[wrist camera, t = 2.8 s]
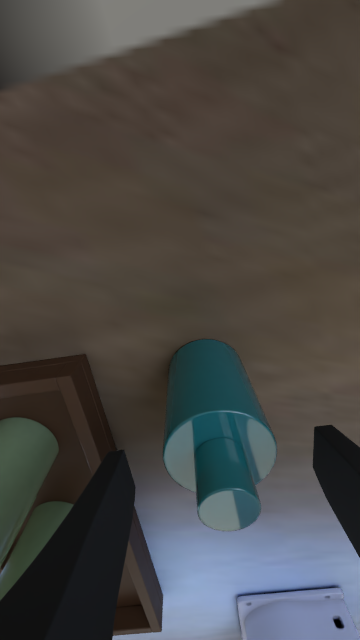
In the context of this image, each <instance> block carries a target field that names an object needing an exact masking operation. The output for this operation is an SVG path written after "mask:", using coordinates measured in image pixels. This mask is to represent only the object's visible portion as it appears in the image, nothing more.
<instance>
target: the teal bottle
mask: <svg viewBox="0 0 360 640" xmlns="http://www.w3.org/2000/svg"><path fill="white" fill-rule="evenodd" d="M276 456H277V444H276V440H275V437H274V435H273V432H272V430H271V428H270V426H269V423H268V421H267V419H266V417H265V414H264V412H263V410H262V407H261V405H260V403H259V401H258V398H257V396H256V394H255V391H254V389H253V387H252V385H251V382H250V380H249V378H248V376H247V373H246V371H245V369H244V366H243V364H242V362H241V360H240V358H239V356H238V354H237V353H236V352H235V351H234V349H232V348H231V347H230V346H229V345H227V344H225V343H223V342H220V341H217V340H212V339H202V340H196V341H193V342H190V343H188V344H186V345H185V346H183V347H182V348H181V349H179V350H178V351H177V352H176V353H175V355H174V356H173V358H172V360H171V362H170V365H169V372H168V386H167V400H166V414H165V429H164V443H163V461H164V465H165V468H166V470H167V472H168V473H169V475H170V476H171V477H172V479H173V480H174V481H175V482H177V483H178V484H179V485H180V486H182V487H184V488H185V489H188V490H190V491H192V492H195V493H196V499H197V513H198V516H199V518H200V520H201V521H202V522H203V523H204V524H205V525H206V526H208V527H210V528H212V529H215V530H219V531H236V530H240V529H243V528H245V527H247V526H249V525H251V524H252V523H253V522H255V521H256V519H257V518H258V517H259V515H260V512H261V503H260V500H259V496H258V493H257V489H256V486H255V485H256V484H258V483H259V482H260V481H262V480H263V479H264V478H265V477H266V476H267V475H268V473H269V472H270V471H271V469H272V467H273V466H274V463H275V460H276Z"/></svg>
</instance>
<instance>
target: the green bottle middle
mask: <svg viewBox="0 0 360 640" xmlns="http://www.w3.org/2000/svg"><path fill="white" fill-rule="evenodd" d="M73 505H74V504H71V503H67V502H62V501H51V502H46V503H43V504H40V505H39V506H37V507H36V508H35V509H34V510H33V511H32V513H31V515H30V517H29V519H28V521H27V523H26V525H25V527H24V529H23V530H22V532H21V534H20V536H19V538H18V540H17V542H16V544H15V546H14V548H13V550H12V552H11V554H10V556H9V558H8V560H7V562H6V564H5V566H4V568H3V570H2V572H1V574H0V600H1V599H2V598H3V597H4V595H5V594H6V593H7V592H8V591H9V590H10V588H11V587H12V586H13V585H14V584H15V583H16V581H17V580H18V579H19V578H20V577H21V575H22V574H23V573H24V572H25V570H26V569H27V568H28V567H29V565H30V564H31V563H32V562H33V560H34V559H35V558H36V557H37V555H38V554H39V553H40V551H41V550H42V549H43V547H44V546H45V545H46V543H47V542H48V541H49V539H50V538H51V537H52V535H53V534H54V532H55V531H56V530H57V528H58V527H59V525H60V524H61V523H62V521H63V520H64V519H65V517H66V516H67V514H68V513H69V511H70V510H71V508H72V507H73Z"/></svg>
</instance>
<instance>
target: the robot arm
mask: <svg viewBox="0 0 360 640" xmlns="http://www.w3.org/2000/svg"><path fill="white" fill-rule="evenodd" d="M313 469H314V471H315V473H316V476H317V478H318V480H319V483H320V485H321V487H322V489H323V492H324V494H325V496H326V498H327V500H328V502H329V504H330V506H331V507H332V509H333V511H334V513H335V515H336V516H337V518H338V520H339V522H340V524H341V525H342V527H343V529H344V531H345V532H346V534H347V536H348V538H349V540H350V541H351V543H352V545H353V547H354V548H355V550H356V552H357V554H358V556H359V557H360V447H358V446H357V445H356V444H355V443H353V442H352V441H351V440H350V439H348V438H347V437H346V436H345V435H344V434H342V433H341V432H340V431H339V430H337V429H336V428H335V427H333V426H332V425H326V426H317V427H314V450H313ZM134 498H135V484H134V481H133V478H132V474H131V471H130V468H129V465H128V461H127V458H126V455H125V452H124V450H118V451H110V452H108V453H107V454H106V456H105V457H104V459H103V460H102V462H101V464H100V465H99V467H98V468H97V470H96V472H95V473H94V475H93V476H92V478H91V480H90V481H89V483H88V484H87V486H86V487H85V489H84V490H83V492H82V493H81V495H80V496H79V498H78V499H77V501H76V502H75V504H74V505H73V507H72V508H71V510H70V511H69V513H68V514H67V516H66V517H65V519H64V520H63V521H62V523H61V524H60V525H59V527H58V528H57V530H56V531H55V532H54V534H53V535H52V537H51V538H50V539H49V541H48V542H47V543H46V545H45V546H44V547H43V549H42V550H41V551H40V553H39V554H38V555H37V557H36V558H35V559H34V560H33V562H32V563H31V564H30V565H29V567H28V568H27V569H26V570H25V572H24V573H23V574H22V575H21V577H20V578H19V579H18V580H17V581H16V583H15V584H14V585H13V586H12V587H11V588H10V590H9V591H8V592H7V593H6V594H5V595H4V597H3V598H2V599H1V600H0V640H112V637H113V628H114V620H115V613H116V606H117V600H118V594H119V589H120V584H121V579H122V573H123V568H124V563H125V557H126V552H127V547H128V541H129V536H130V530H131V525H132V519H133V510H134ZM343 599H344V594H343V591H342V589H340V588H327V589H316V590H304V591H293V592H282V593H270V594H259V595H248V596H240V597H238V598H237V604H238V612H239V619H240V626H241V633H242V640H360V636H359V634H358V631H357V629H356V627H355V624H354V622H353V620H352V617H351V615H350V613H349V611H348V608H347V606H346V604H345V601H344V600H343Z"/></svg>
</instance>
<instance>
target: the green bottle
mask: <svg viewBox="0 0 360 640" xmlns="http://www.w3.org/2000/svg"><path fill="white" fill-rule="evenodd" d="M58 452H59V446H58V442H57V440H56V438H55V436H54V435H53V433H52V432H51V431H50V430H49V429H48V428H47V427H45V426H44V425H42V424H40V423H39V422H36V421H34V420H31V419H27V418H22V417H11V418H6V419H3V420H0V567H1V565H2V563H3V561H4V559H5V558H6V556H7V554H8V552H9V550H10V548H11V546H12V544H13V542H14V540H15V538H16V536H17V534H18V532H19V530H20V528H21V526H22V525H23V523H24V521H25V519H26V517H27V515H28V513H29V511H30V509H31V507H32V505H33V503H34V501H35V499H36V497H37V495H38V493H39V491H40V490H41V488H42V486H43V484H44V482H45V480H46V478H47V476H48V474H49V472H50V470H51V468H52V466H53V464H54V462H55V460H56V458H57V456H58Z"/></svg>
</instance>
